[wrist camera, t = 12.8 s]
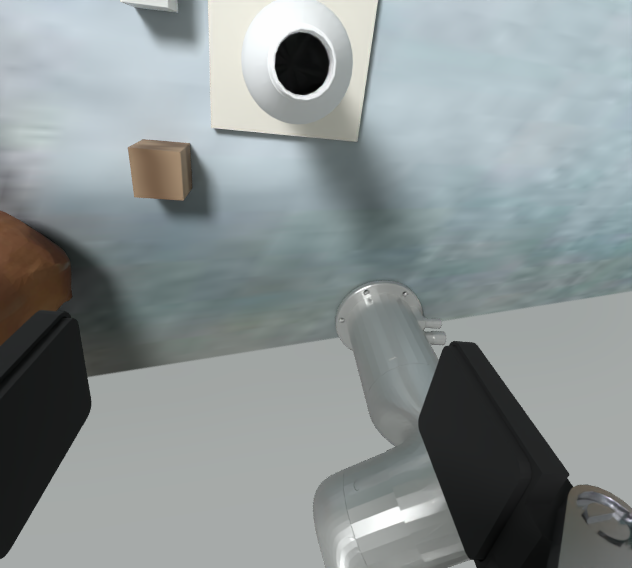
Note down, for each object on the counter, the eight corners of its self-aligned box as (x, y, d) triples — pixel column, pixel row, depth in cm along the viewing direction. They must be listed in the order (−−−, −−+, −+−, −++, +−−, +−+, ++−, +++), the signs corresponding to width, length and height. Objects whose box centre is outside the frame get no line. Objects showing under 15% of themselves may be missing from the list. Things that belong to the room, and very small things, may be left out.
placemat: (377, -11, 38) (379, -13, 37) (355, 140, 45) (357, 141, 44) (208, -35, 36) (207, -38, 35) (212, 126, 43) (211, 127, 42)
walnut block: (190, 143, 43) (180, 151, 39) (192, 187, 46) (183, 200, 42) (143, 139, 43) (127, 147, 39) (148, 184, 45) (134, 197, 41)
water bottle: (314, 112, 42) (351, 164, 20) (248, 90, 40) (211, 121, 19) (335, 37, 39) (406, 2, 17) (265, 10, 37) (243, -65, 15)
